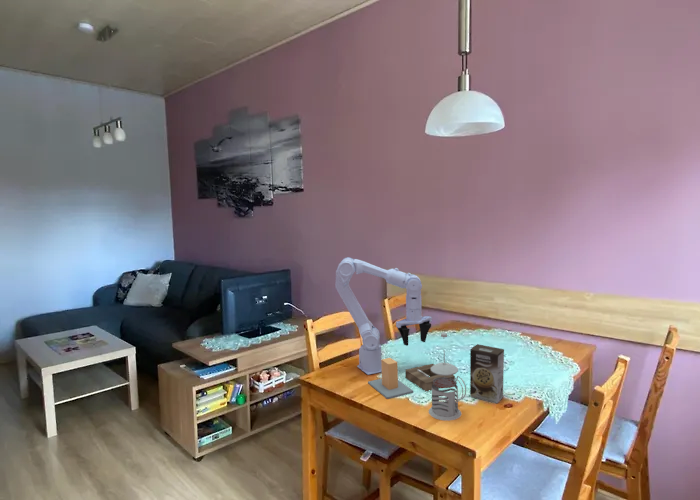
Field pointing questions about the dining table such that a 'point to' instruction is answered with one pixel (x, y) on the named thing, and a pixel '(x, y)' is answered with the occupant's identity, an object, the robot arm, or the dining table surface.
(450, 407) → the french press
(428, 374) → the brown wooden tray
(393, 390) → the mat
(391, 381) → the orange brown block
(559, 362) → the dining table surface
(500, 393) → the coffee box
